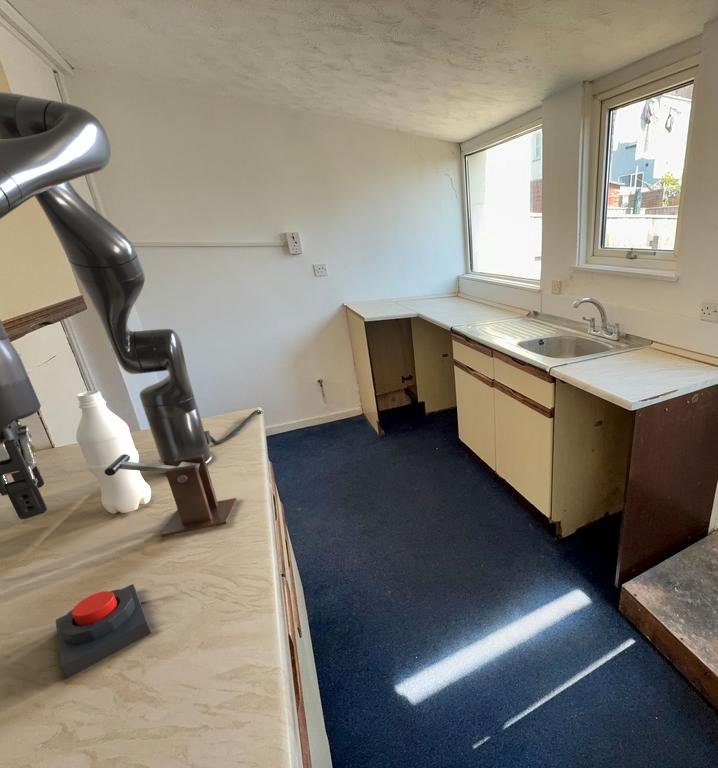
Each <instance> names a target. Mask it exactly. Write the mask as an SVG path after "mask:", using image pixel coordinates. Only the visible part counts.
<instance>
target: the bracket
mask: <svg viewBox="0 0 718 768" xmlns="http://www.w3.org/2000/svg"><path fill="white" fill-rule="evenodd" d="M174 462H175V465H176V466H179V465H180V463H181V462H189V463H199V464H200V466H199V471H198V468H197V465H191V466H185V467H178V468H172V469H167V470H166V473H165V475H166V479H167V482H168V484H169V487H170V491H171V493H172V496H173V500H174V502H175V505H176V511H175V512H174V514H173V515H172V517H171V518H170V520H169V521H168V523H167V524H166V526H165V528H164V529H163V530H162V532H161V534H160V535H161V537H162V538H164V537H169V536H174V535H178V534H184V533H188V532H193V531H198V530H199V531H200V530H204V529H208V528H213V527H219V526H224V525H227V524H228V522H229V520H230V518H231V515H232V513H233V510H234V509H235V506H236V504H237V502H238V498H237V497H234V498H233V497H232V498H227V499H223V500H218V499H217V496H216V493H215V489H214V485H213V482H212V478H211V475H210V470H209V468H208V464H206V461H205V457H204V455H197V456H190V457H183V458H177V459H175V461H174Z"/></svg>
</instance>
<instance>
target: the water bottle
mask: <svg viewBox="0 0 718 768" xmlns="http://www.w3.org/2000/svg"><path fill="white" fill-rule="evenodd" d="M76 397H77V400H78V408H79V410H80V409H81V418H80V420H79V423H78V426H77V430H76V433H75V434H76V435H75V436H76V437H75V438H76V443H78V445H79V447H80V450H81V452H82V455H83V458H84V459H85V462H86V467H87V470H88V471H89V472H90V473H92V474H93V475H94V477H95V478H96V480H97V482H98V483H99V487H100V490H101V491H100V493H101V497H100V502H101V504H102V506H103V508H104V509H105V510H106V511H107V512H108V513H110V514H112V515H114V514H118V513H119V512H120V513H121V514H127V513H131V512H133V511H136V510H137V509H139V506H140V505H146V504H148V503H149V502H150V500H151V496H152V490H151V486H150V485H149V484H148V483H147V482H146V481H145V480H144V477H143V476H142V474H141V471H138V470H126V469H119V470H118V471H117V472H116V473H115V474H114V475H112V476H108V475H106V474H105V470H106V469H107V468H108V467H109V466H110V465H111V464H112V463H113V462H114V461H115V460H117V459H118V458H119V457H120V456H121V455H123V454H127V455H129V456H130V460H129V461H128V462H137V463H140V462H139V460H140V459H139V458H140V455H139V452H138V450H137V449H136V446H135V444H134V441H133V438H132V434H131V432H130V428H129V427H130V426H129V425H128V424H127V423H126V422H125V421H124V420H123V419H122V418H121V417H119V416H118V415H116V414H115V413H114V412H112V411H111V410H110V409H109V408H108V406H107V405H106V404H107V401H106V400H105V399H104V398H103V397H102V393H101V391H100V390H89V391H88V390H87V391H84V392H80V393H78V394H76Z"/></svg>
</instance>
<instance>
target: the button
mask: <svg viewBox="0 0 718 768" xmlns="http://www.w3.org/2000/svg"><path fill="white" fill-rule="evenodd" d="M110 591H111V590H104V591H100V592H96V593H92V595H89V596H87V597H85V598H83V599H82V600H81V601H79V602H78V603H77V604H76V605H75V606H74V607H73V608H72V609H71V610H72V615H73V617H74V619H75V622H76V624H77V625H80V626H85V625H89V624H92V623H95V622H97V621H99V620H101V619H103V618H105V617H106V616H108V615H109V614H110V613H111V612H113V611H114V610H115V609H116V607H117V601H116V598H115V596H114V594H113V593H112V592H110Z"/></svg>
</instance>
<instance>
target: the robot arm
mask: <svg viewBox="0 0 718 768" xmlns="http://www.w3.org/2000/svg"><path fill="white" fill-rule="evenodd" d="M111 154H112V150H111V144H110V140H109V137H108V134H107V132H106V130H105V128H104V126H103V125H102V123H101V121H100V120H99V119H98V118H97V117H96V116H95V115H94V113H93V114H92V113H91V112H90V111H88V110H87V109H85V108H83V107H80V106H78V105H75V104H71V103H66V102H62V101H58V100H52V99H46V98H41V97H36V96H29V95H24V94H18V93H12V92H6V91H5V92H3V91H0V220H2V219H3V218H5V217H6V216H7V215H9V214H10V213H12V212H13V211H15V210H16V209H18V208H19V207H20V206H22V204H24V203H26V202H27V201H29V200H30V199H32V198H35V199H36V201H37V203H38V204H39V206H40V207H41V209H42V211H43V212H44V215H45V216H46V218H47V220H48V222H49V223H50V226H51V227H52V229H53V231H54V233H55V235H56V237H57V239H58V241H59V243H60V245H61V247H62V249H63V251H64V254H65V256H66V258H67V260H68V262H69V264H70V266H71V267H72V270H73V271H74V273H75V275H76V277H77V279H78V280H79V282H80V284H81V285H82V287H83V289H84V291H85V293H86V294H87V297H88V298H89V300H90V302H91V304H92V306H93V308H94V309H95V311H96V313H97V315H98V318H99V319H100V322H101V324H102V327H103V329H104V332H105V334H106V338H107V339H108V342H109V344H110V347H111V349H112V351H113V354H114V356H115V358H116V359H117V360H116V361H117V362H118V364H119V366H120V367H121V368H122V370H124V372H126V373H128V374H130V375H142V374H151V373H159V372H168V375H167V376H166V377H165V378H164V379H162V380H160V381H158V382H156V383H154V384H153V383H152V384H150V385H149V386H147V387H145V388H143V389H142V390H141V391H140V392H139V399H140V402H141V405H142V408H143V411H144V414H145V417H146V419H147V422H148V426H149V429H150V431H151V435H152V438H153V441H154V444H155V446H156V449H157V453H158V456H159V459H158V461H159V465H168V466H176V465H175V462H174V461H175V459H177V458H183V457H190V456H197V455H204V457H205V461H206V464H207V465H208V464H209V463H210V462H211V461H212V460H213V456H212V453H211V450H210V446H209V445H210V444H211V443H212V444H214V445H220V444H222V443H225V442H227V441H228V440H229V439H231V438H232V437H233V436H235V435H236V434H237V433H238V432H239V431H241V430H242V429H243V428H244V427H245V426H246V424H247V423H248V422H249V421H251V420H252V418H254V417H255V415H256V414H259V415H261V414H263V411H262V410H260V409H256V410H254V411H253V412H251V414H249V415H248V416H247V418H245V419H244V420H243V421H242V422H241V423H240V424H239V425H238V426H237V427H236V428H235V429H234V430H232V431H231V432H230V433H229V434H228V435H227V436H226V437H224V438H223V439H219V440H217V439H215V438H214V436H212V435H211V433H210V430H205V429H204V425H203V421H202V419H201V415H200V411H199V408H198V405H197V401H196V398H195V393H194V391H193V387H192V383H191V380H190V375H189V372H188V368H187V364H186V359H185V353H184V349H183V345H182V341H181V338H180V337H179V334H178V333H177V332H176V331H175V330H173V329H171V328H159V329H157V328H156V329H145V330H136V331H132V330H131V329H130V328H129V325H128V323H129V322H128V321H129V318H130V314H131V311H132V309H133V308H134V305H135V303H136V302H137V300H138V298H139V297H140V295H141V292H142V290H143V288H144V286H145V280H146V275H145V271H144V269H143V267H142V264H141V261H140V259H139V257H138V254H137V251H136V249H135V246H134V245H133V244H132V242H131V241H130V240H129V238H128V237H127V236H126V235H125V234H124V232H122V231H121V230H120V229H119V228H118V227H116V225H114V224H113V223H112V222H111V221H109V220H108V219H107V218H106V217H104V216H103V215H102V214H101V213H100V212H99V211H97V210H96V209H94V207H93V206H91V205H90V204H89V203H88V202H87V201H86V200H85V199H83V197H82V196H81V195H80V194H79V193H78V192H77V190H76V189H75V187H74V186H73V185H72V184H71V181H74V180H77V179H80V178H82V177H86V176H88V175H92V174H96V173H98V172H101V171H103V170H104V169H106V167H107V166H108V165H109V163H110V160H111ZM40 409H41V403H40V400H39V398H38V396H37V393H36V391H35V389H34V386H33V384H32V381H31V380H30V377H29V375H28V372H27V370H26V367H25V366H24V363H23V361H22V358H21V356H20V354H19V352H18V350H17V349H16V348H15V346H14V345H13V344H12V342H11V340H10V338H9V336H8V333H7V332H6V329H5V327H4V324H3V322H2V320H1V319H0V495H1V496H7V497H8V499H9V500H10V503H11V504H12V506H13V509H14V511H15V513H16V514H17V516H18V518H19V519H20V520H28V519H30V518H33V517H36V516H39V515H43V514H44V513H46V512H47V511H48V507H47V503H46V502H45V500H44V498H43V496H42V493H41V490H40V489H39V488H43V486H44V485H45V480H44V479H43V476H42V474H41V472H40V470H39V468H38V465H37V461H36V458H35V457H36V454H35V452H33V451H35V450H36V447H35V445H34V441H33V440H32V434H31V432H30V428H29V426H28V425H27V424H24V425H22V423H21V421H20V420H23V419H26V418H29V417H30V416H31V417H32V416H33V415H35V414H36V413H38V412H39V411H40ZM258 411H259V412H258ZM261 412H262V413H261ZM9 475H11V477H12V479H13V481H10V482H9V480H8V476H9Z"/></svg>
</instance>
